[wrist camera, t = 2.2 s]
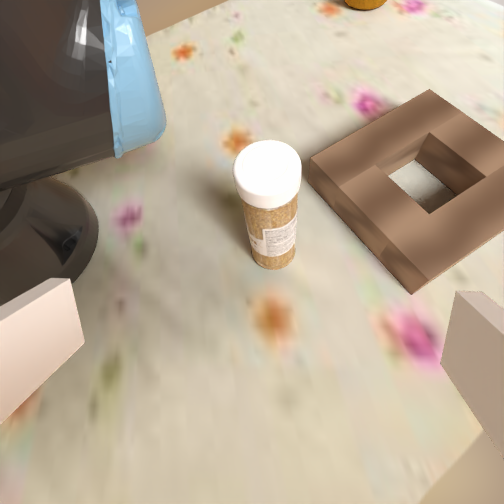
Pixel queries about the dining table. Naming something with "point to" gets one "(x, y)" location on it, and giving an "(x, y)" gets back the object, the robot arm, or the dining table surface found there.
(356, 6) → the apple
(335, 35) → the dining table surface
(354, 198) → the frame
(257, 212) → the sprinkles bottle
